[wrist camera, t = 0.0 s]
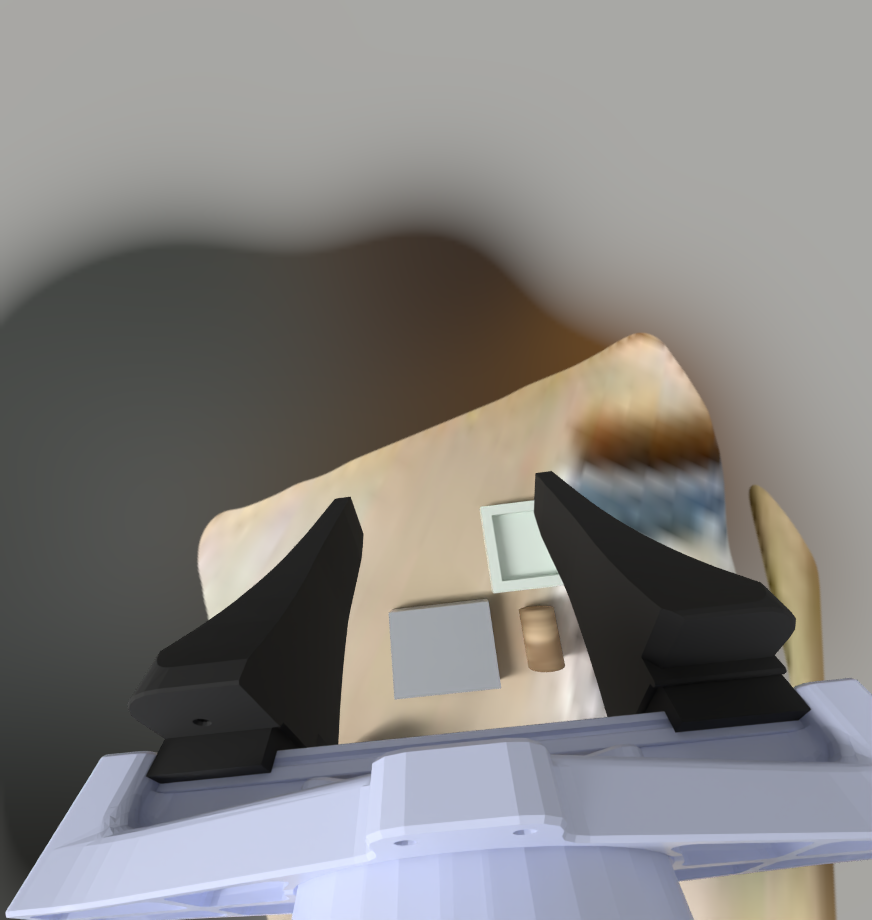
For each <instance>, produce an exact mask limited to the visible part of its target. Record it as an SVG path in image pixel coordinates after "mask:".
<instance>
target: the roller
mask: <svg viewBox="0 0 872 920" xmlns="http://www.w3.org/2000/svg"><path fill="white" fill-rule="evenodd" d="M519 613H520V619H521V625H522V631H523V637H524V643H525V649H526V655H527V660H528V666H529V668H530V669H531V670H533V671H538V672H554V671H558V670H561V669H563V668H564V667H565V663H564V658H563V653H562V648H561V643H560V638H559V633H558V628H557V623H556V618H555V612H554V608H553V607H552V606H531V607H525V608H522V609H520V610H519Z"/></svg>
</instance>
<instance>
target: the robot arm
mask: <svg viewBox="0 0 872 920" xmlns="http://www.w3.org/2000/svg"><path fill="white" fill-rule="evenodd" d="M534 516H535V519H536V522H537V525H538V528H539V531H540V534H541V537H542V539H543V542H544V544H545V546H546V548H547V550H548V552H549V554H550V557H551V559H552V561H553V563H554V565H555V567H556V569H557V571H558V574H559V576H560V578H561V580H562V582H563V584H564V586H565V589H566V591H567V593H568V596H569V598H570V601H571V604H572V607H573V609H574V612H575V615H576V618H577V621H578V624H579V627H580V630H581V633H582V636H583V639H584V642H585V645H586V648H587V651H588V654H589V657H590V660H591V663H592V667H593V670H594V673H595V676H596V679H597V683H598V686H599V689H600V693H601V696H602V700H603V703H604V707H605V710H606V713H607V717H604V718H594V719H584V720H575V721H565V722H555V723H545V724H535V725H526V726H516V727H506V728H496V729H486V730H476V731H467V732H457V733H447V734H437V735H427V736H418V737H408V738H398V739H388V740H378V741H368V742H359V743H349V744H339V745H338V739H339V719H340V702H341V688H342V675H343V664H344V654H345V644H346V636H347V627H348V620H349V614H350V609H351V604H352V600H353V595H354V591H355V586H356V582H357V577H358V573H359V568H360V563H361V558H362V548H363V531H362V528H361V526H360V523H359V520H358V517H357V514H356V511H355V508H354V505H353V502H352V500H351V497H345V498H337V499H335V500H334V501H333V502H332V503H331V504H330V506H329V507H328V508H327V509H326V511H325V512H324V513H323V514H322V515H321V517H320V518H319V519H318V520H317V522H316V523H315V524H314V525H313V526H312V528H311V529H310V530H309V531H308V532H307V534H306V535H305V536H304V537H303V538H302V539H301V540H300V541H299V543H298V544H297V545H296V546H295V547H294V548H293V549H292V550H291V551H290V552H289V553H288V555H287V556H286V557H285V558H284V559H283V560H282V561H281V562H280V563H279V564H278V565H277V566H276V567H275V568H273V569H272V570H271V571H270V572H269V573H268V574H267V575H266V576H265V577H264V578H263V579H261V580H260V581H259V582H258V583H257V584H255V585H254V586H253V587H252V588H251V589H249V590H248V591H247V592H246V593H244V594H243V595H242V596H241V597H240V598H238V599H237V600H236V601H235V602H233V603H232V604H231V605H229V606H228V607H227V608H225V609H224V610H223V611H221V612H220V613H218V614H217V615H216V616H214V617H213V618H211V619H210V620H208V621H207V622H206V623H204V624H203V625H201V626H200V627H198V628H197V629H195V630H194V631H192V632H190V633H189V634H187V635H186V636H184V637H182V638H181V639H179V640H178V641H176V642H175V643H173V644H171V645H170V646H168V647H167V648H165V649H163V650H162V651H160V653H159V654H158V656H157V657H156V659H155V660H154V662H153V663H152V665H151V666H150V668H149V670H148V671H147V673H146V674H145V676H144V677H143V679H142V681H141V682H140V684H139V685H138V687H137V689H136V690H135V691H134V693H133V695H132V696H131V698H130V699H129V701H128V710H129V712H130V714H131V716H132V717H134V718H135V719H136V720H137V721H138V722H140V723H141V724H143V725H145V726H146V727H148V728H149V729H151V730H152V731H154V732H155V733H157V734H158V735H160V736H161V737H163V738H165V740H164V742H163V744H162V746H161V748H160V750H159V752H158V753H156V752H150V751H139V752H129V753H119V754H109V755H105V756H103V757H102V758H101V759H100V761H99V762H98V764H97V766H96V767H95V769H94V770H93V772H92V774H91V776H90V777H89V779H88V780H87V782H86V784H85V785H84V787H83V788H82V790H81V791H80V793H79V795H78V796H77V798H76V800H75V801H74V803H73V804H72V806H71V808H70V809H69V811H68V812H67V814H66V816H65V817H64V819H63V821H62V822H61V824H60V825H59V827H58V829H57V830H56V832H55V833H54V835H53V837H52V838H51V840H50V842H49V843H48V845H47V846H46V848H45V849H44V851H43V853H42V854H41V856H40V857H39V859H38V861H37V862H36V864H35V866H34V867H33V869H32V870H31V872H30V874H29V875H28V877H27V878H26V880H25V882H24V883H23V885H22V887H21V888H20V890H19V891H18V893H17V895H16V896H15V898H14V899H13V901H12V903H11V904H10V906H9V907H8V909H7V911H6V917H7V918H17V919H27V920H176V919H194V918H215V917H237V916H259V915H280V914H293V915H292V920H694V919H693V916H692V914H691V911H690V909H689V906H688V904H687V901H686V899H685V896H684V894H683V892H682V889H681V887H680V884H679V882H680V881H688V880H696V879H704V878H713V877H721V876H729V875H737V874H745V873H754V872H762V871H770V870H778V869H787V868H795V867H804V866H812V865H821V864H830V863H839V862H848V861H859V860H868V859H872V694H871V693H870V692H869V691H868V690H867V689H866V688H865V687H864V686H863V685H862V684H861V683H860V682H859V681H858V680H856V679H852V678H845V679H836V680H825V681H816V682H808V683H803V684H801V685H798V686H795V687H794V688H793V687H792V686H791V685H790V684H789V682H788V681H787V680H786V679H785V678H784V677H783V675H782V674H785V673H786V672H787V671H786V668H785V666H784V665H783V664H782V663H781V662H780V661H779V660H778V659H777V657H776V656H775V654H776V653H777V652H778V651H779V649H780V648H781V647H782V646H783V645H784V643H785V642H786V641H787V640H788V639H789V638H790V636H791V635H792V633H793V631H794V630H795V624H796V618H795V617H794V615H793V614H792V612H791V611H790V610H789V609H788V608H787V607H786V606H785V605H783V604H782V603H781V602H780V601H779V600H778V599H777V598H776V597H775V596H774V595H773V594H772V593H771V592H770V591H769V590H768V589H767V588H766V587H765V586H764V585H763V584H762V583H760V582H758V581H754V580H751V579H749V578H746V577H743V576H740V575H737V574H734V573H731V572H728V571H726V570H723V569H720V568H717V567H714V566H712V565H709V564H707V563H704V562H702V561H699V560H697V559H694V558H692V557H689V556H687V555H685V554H682V553H680V552H678V551H676V550H673V549H671V548H669V547H667V546H665V545H663V544H661V543H659V542H657V541H655V540H653V539H651V538H649V537H647V536H645V535H643V534H641V533H639V532H638V531H636V530H634V529H632V528H631V527H629V526H627V525H625V524H624V523H622V522H620V521H619V520H617V519H615V518H614V517H612V516H611V515H609V514H608V513H606V512H605V511H603V510H602V509H600V508H599V507H597V506H596V505H595V504H593V503H592V502H590V501H589V500H588V499H586V498H585V497H584V496H582V495H581V494H580V493H578V492H577V491H576V490H575V489H573V488H572V487H571V486H570V485H568V484H567V483H566V482H565V481H563V480H562V479H561V478H560V477H558V476H557V475H556V474H555V473H553V472H552V471H549V472H541V473H536V475H535V496H534Z"/></svg>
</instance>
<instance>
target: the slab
mask: <svg viewBox="0 0 872 920" xmlns="http://www.w3.org/2000/svg"><path fill="white" fill-rule="evenodd" d="M389 624H390V639H391V653H392V668H393V683H394V698H395V699H403V698H413V697H422V696H432V695H441V694H451V693H460V692H470V691H480V690H489V689H499V688H501V684H500V677H499V670H498V663H497V656H496V649H495V643H494V636H493V629H492V622H491V615H490V608H489V601H488V600H487V599H479V600H470V601H461V602H453V603H444V604H435V605H426V606H417V607H408V608H400V609H393V610H391V611H390V612H389Z"/></svg>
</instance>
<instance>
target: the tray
mask: <svg viewBox="0 0 872 920" xmlns="http://www.w3.org/2000/svg"><path fill="white" fill-rule="evenodd" d="M480 516H481V522H482V529H483V535H484V542H485V549H486V555H487V562H488V568H489V575H490V581H491V588H492V592H493V593H501V592H509V591H518V590H527V589H535V588H544V587H553V586H561V585H564V584H563V582H562V580H561V578H560V576H559V574H558V571H557V569H556V567H555V565H554V563H553V561H552V559H551V557H550V554H549V552H548V550H547V548H546V546H545V544H544V542H543V539H542V537H541V534H540V531H539V528H538V525H537V522H536V519H535V516H534V500H532V501H524V502H516V503H508V504H500V505H492V506H484V507H480Z"/></svg>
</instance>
